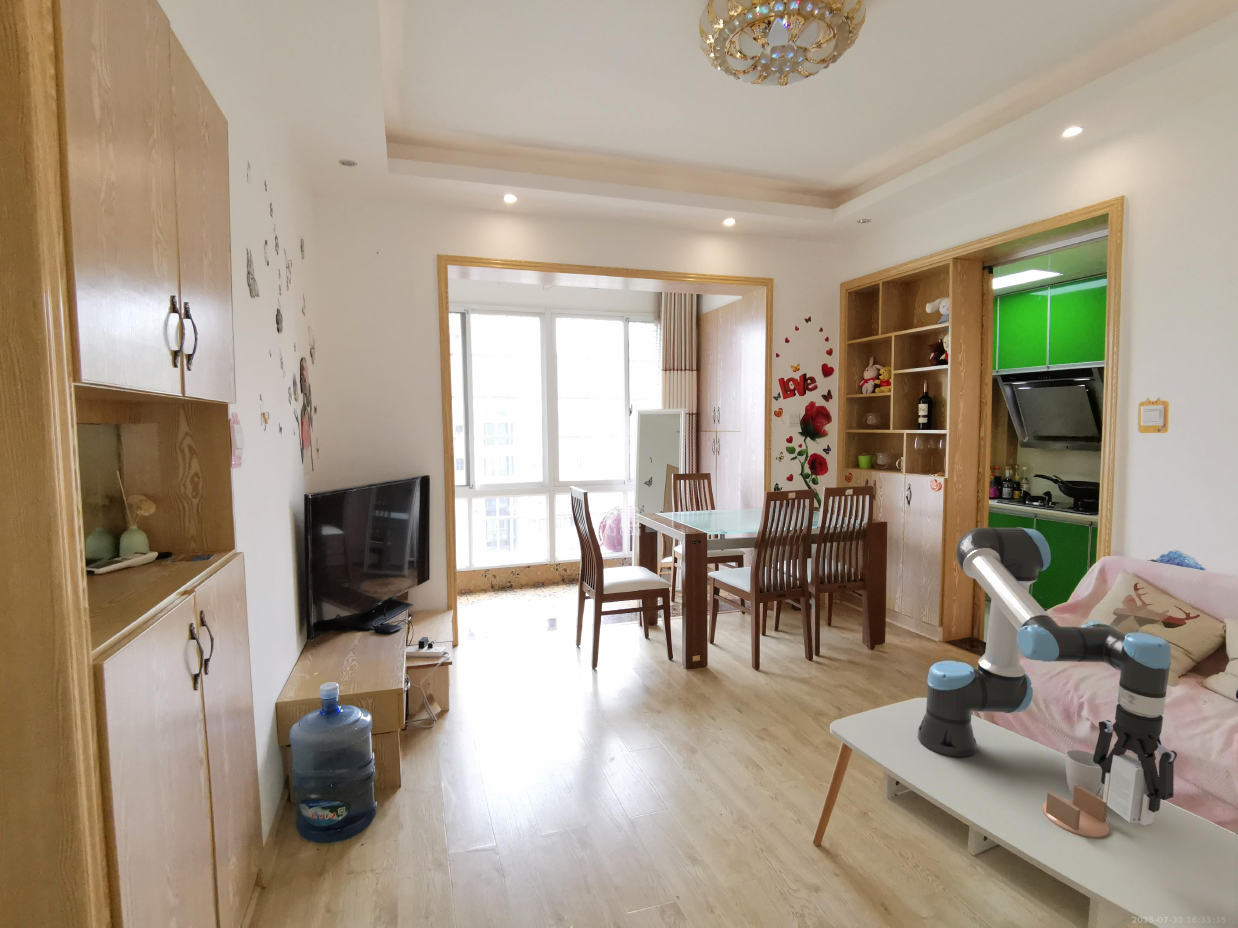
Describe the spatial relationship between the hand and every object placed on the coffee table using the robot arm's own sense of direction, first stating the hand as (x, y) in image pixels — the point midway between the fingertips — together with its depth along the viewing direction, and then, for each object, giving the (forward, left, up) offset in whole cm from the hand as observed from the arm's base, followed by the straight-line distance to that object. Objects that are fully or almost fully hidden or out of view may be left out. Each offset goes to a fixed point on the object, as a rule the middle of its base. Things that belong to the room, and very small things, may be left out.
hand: (1127, 811), depth 134 cm
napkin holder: (-14, +7, -13) cm, 21 cm away
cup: (-20, +18, -13) cm, 30 cm away
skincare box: (0, 0, -1) cm, 1 cm away
